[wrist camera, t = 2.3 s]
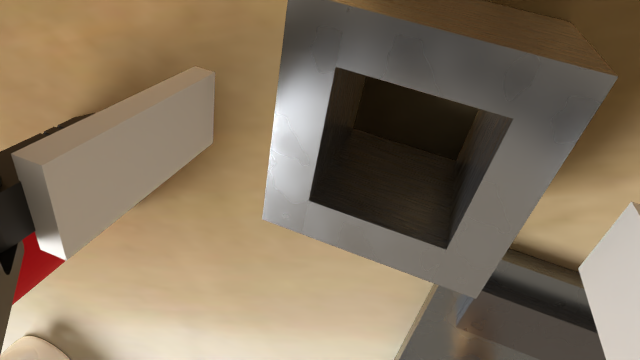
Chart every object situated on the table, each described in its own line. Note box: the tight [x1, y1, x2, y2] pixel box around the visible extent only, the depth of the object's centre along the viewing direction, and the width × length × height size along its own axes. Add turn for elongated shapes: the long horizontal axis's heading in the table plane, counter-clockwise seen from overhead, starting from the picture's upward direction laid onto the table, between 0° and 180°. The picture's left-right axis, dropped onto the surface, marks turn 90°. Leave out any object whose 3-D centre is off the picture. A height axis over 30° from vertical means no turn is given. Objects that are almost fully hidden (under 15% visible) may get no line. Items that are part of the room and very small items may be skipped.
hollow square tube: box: [262, 0, 618, 299], centre depth 14 cm, size 8×8×6 cm
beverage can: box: [12, 232, 66, 305], centre depth 21 cm, size 6×6×12 cm
